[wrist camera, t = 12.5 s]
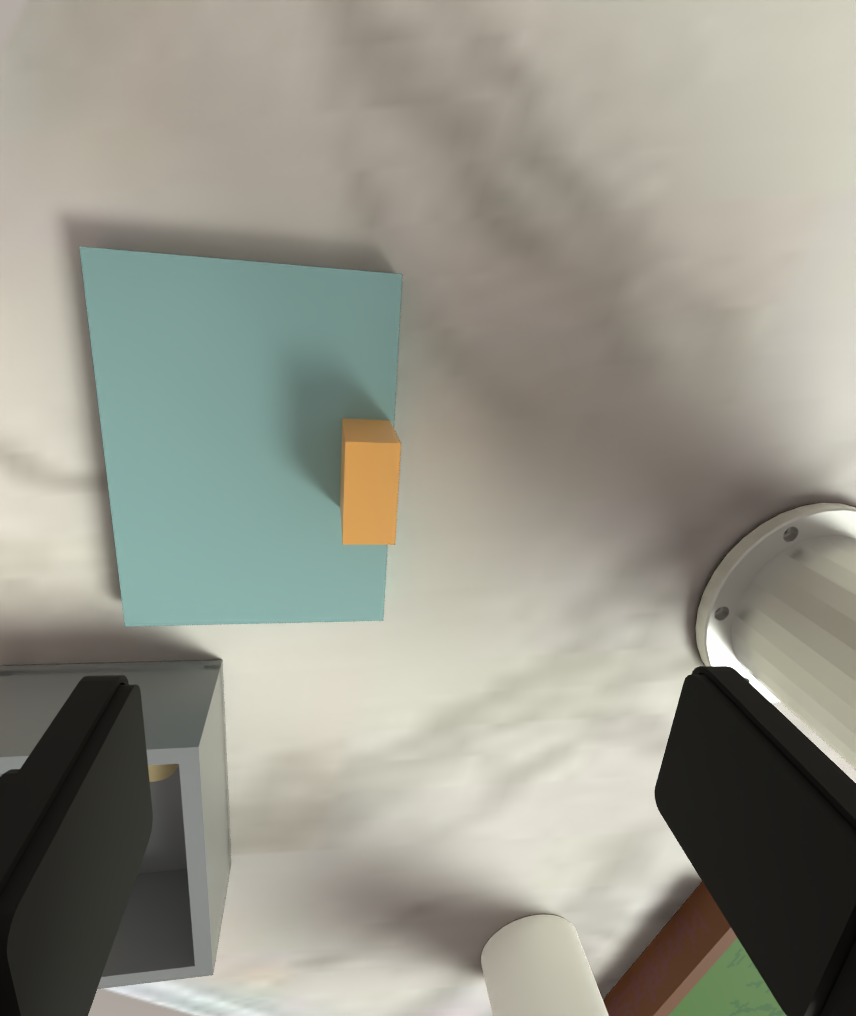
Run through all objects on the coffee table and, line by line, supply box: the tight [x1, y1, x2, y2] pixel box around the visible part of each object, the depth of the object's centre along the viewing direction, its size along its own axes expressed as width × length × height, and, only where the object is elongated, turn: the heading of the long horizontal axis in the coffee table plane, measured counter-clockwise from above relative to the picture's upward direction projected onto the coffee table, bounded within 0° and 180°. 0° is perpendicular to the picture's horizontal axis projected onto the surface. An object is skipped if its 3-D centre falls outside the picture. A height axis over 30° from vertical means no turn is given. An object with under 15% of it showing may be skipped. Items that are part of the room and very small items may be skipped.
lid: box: [79, 247, 402, 627], centre depth 23 cm, size 12×16×6 cm
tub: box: [0, 660, 231, 989], centre depth 28 cm, size 10×14×6 cm
